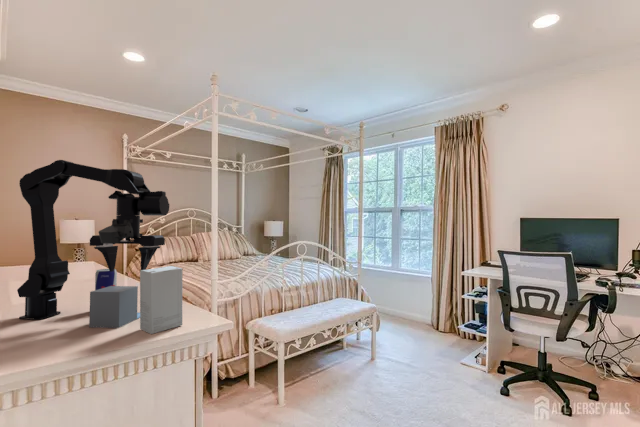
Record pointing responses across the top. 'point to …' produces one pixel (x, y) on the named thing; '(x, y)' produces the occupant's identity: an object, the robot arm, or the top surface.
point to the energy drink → (105, 278)
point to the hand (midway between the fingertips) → (127, 271)
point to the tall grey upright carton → (160, 299)
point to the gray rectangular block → (113, 306)
